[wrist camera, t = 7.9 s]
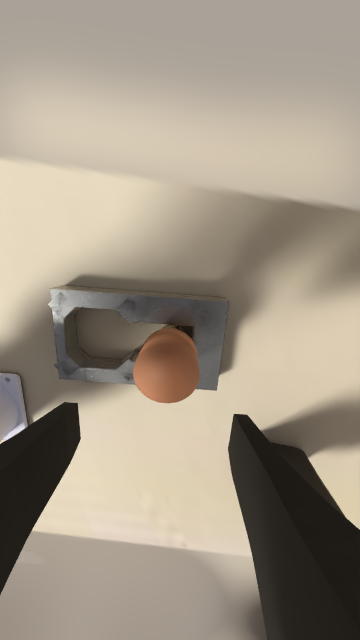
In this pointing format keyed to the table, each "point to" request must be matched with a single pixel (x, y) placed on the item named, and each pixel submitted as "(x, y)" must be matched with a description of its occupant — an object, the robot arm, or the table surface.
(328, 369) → the table surface
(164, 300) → the keyhole plate
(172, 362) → the peg
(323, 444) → the table surface
